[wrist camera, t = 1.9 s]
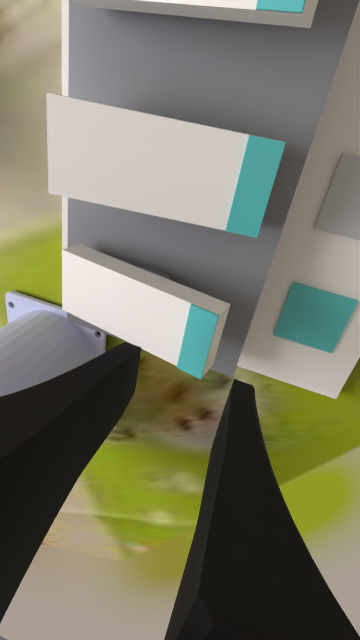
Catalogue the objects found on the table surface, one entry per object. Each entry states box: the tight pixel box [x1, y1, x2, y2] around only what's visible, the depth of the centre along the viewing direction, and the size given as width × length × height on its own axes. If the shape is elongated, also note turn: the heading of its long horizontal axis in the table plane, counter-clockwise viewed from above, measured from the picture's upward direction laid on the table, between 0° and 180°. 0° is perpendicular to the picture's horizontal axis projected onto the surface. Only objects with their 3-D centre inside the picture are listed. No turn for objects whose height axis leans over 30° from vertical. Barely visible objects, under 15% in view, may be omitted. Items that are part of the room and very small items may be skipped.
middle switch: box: [46, 93, 286, 238], centre depth 13 cm, size 3×8×2 cm, turn 79°
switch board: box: [62, 0, 360, 399], centre depth 15 cm, size 21×18×4 cm
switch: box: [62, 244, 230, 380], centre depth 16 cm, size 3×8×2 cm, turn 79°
